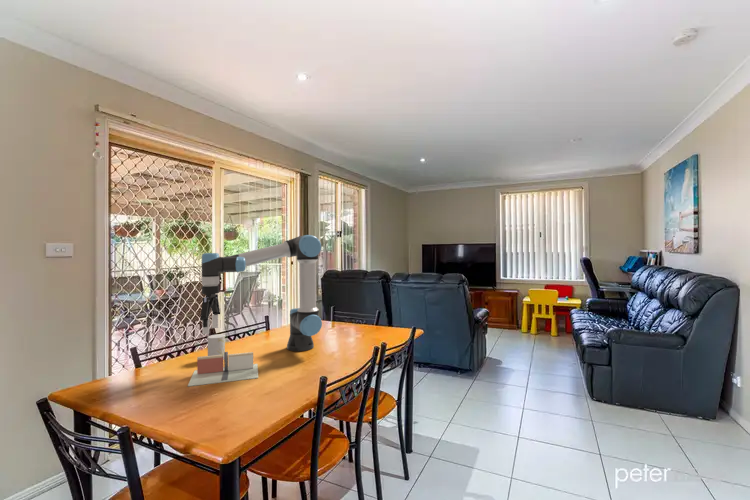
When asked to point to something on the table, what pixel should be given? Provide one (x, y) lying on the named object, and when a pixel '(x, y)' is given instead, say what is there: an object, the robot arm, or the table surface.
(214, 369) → the red rectangular panel
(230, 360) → the fence fixed
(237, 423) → the table surface
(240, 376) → the card
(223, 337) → the cup
